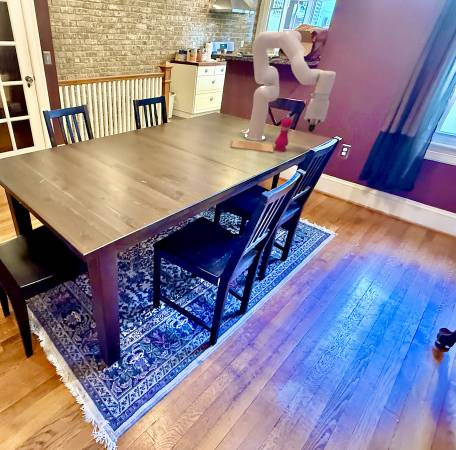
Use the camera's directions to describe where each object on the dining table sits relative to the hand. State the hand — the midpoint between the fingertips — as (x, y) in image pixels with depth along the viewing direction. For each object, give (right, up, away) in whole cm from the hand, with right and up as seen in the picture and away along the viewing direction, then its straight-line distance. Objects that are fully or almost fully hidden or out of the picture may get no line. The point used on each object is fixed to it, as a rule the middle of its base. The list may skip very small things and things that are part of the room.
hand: (310, 131), depth 172 cm
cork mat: (-29, -5, +13) cm, 32 cm away
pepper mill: (-13, -8, +10) cm, 19 cm away
